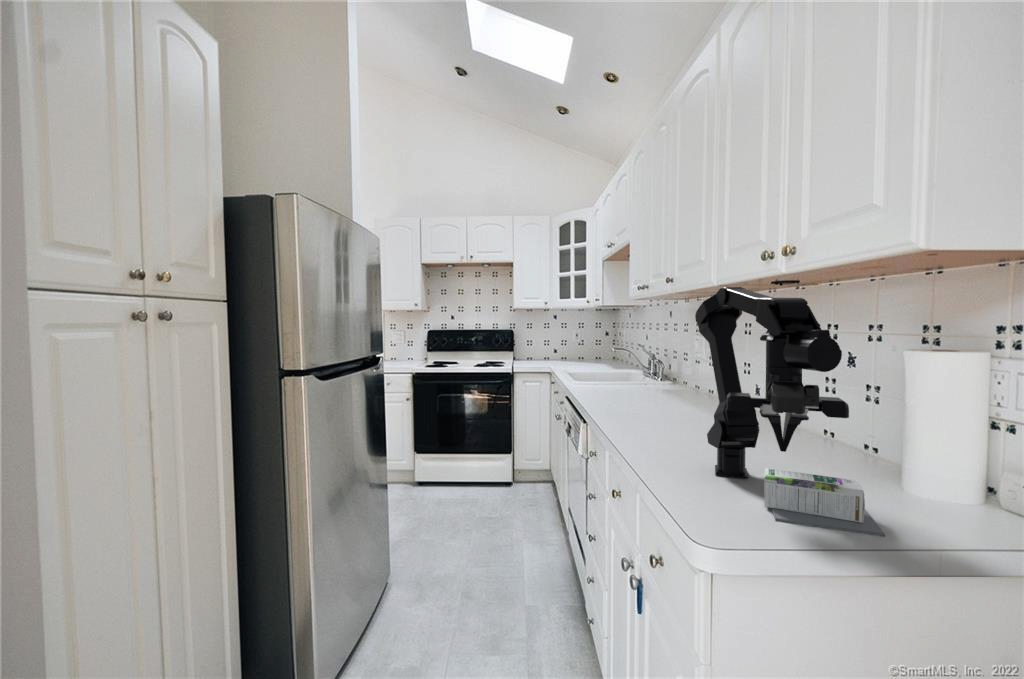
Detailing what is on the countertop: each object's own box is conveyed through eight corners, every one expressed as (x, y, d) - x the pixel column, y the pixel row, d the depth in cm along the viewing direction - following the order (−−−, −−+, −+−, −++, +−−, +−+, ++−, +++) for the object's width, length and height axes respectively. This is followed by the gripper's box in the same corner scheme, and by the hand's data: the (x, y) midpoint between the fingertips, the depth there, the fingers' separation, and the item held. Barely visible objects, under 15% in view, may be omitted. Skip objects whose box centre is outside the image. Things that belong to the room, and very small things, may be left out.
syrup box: (764, 467, 86) (859, 478, 79) (764, 497, 87) (859, 511, 79) (763, 476, 81) (865, 489, 74) (764, 508, 82) (865, 524, 74)
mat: (765, 488, 92) (765, 486, 92) (855, 499, 86) (855, 497, 86) (775, 520, 77) (775, 517, 77) (885, 536, 71) (885, 533, 71)
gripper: (728, 368, 79) (727, 457, 80) (858, 372, 72) (857, 470, 72) (726, 363, 89) (726, 442, 90) (841, 366, 82) (840, 452, 82)
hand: (782, 451), depth 83 cm, fingers closed
